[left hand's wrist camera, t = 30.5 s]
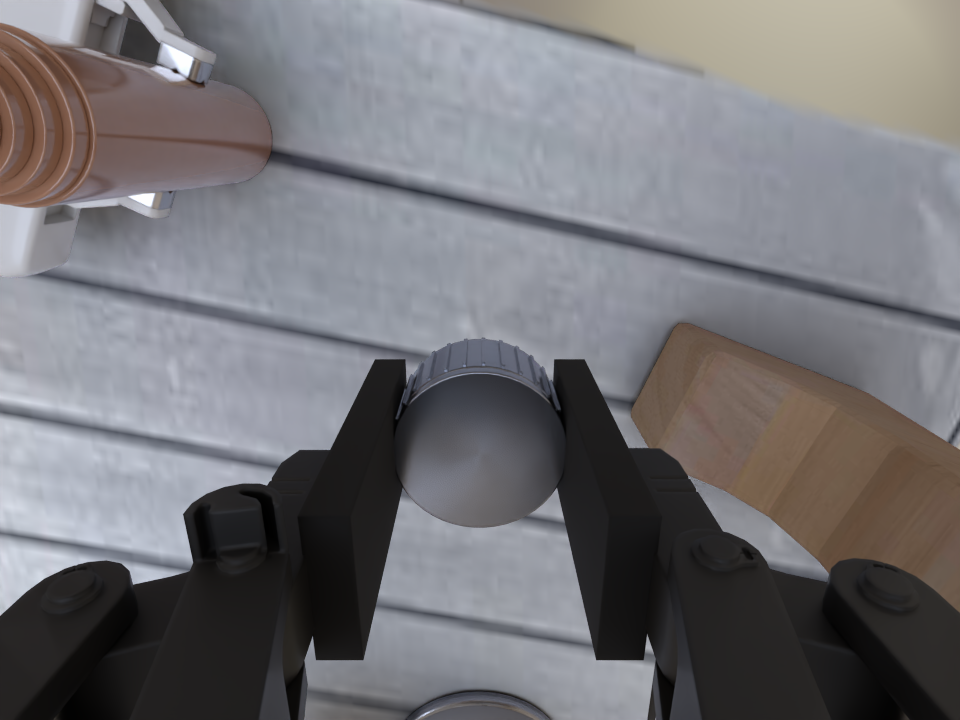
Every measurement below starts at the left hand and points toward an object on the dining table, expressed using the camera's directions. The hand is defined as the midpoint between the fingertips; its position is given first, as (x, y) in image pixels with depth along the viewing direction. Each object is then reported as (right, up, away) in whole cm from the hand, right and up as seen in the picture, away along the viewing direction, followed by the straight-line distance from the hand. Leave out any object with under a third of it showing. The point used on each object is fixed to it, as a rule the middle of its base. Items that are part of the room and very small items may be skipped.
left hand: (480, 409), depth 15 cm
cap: (0, -1, -2) cm, 2 cm away
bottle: (-15, +15, +19) cm, 28 cm away
